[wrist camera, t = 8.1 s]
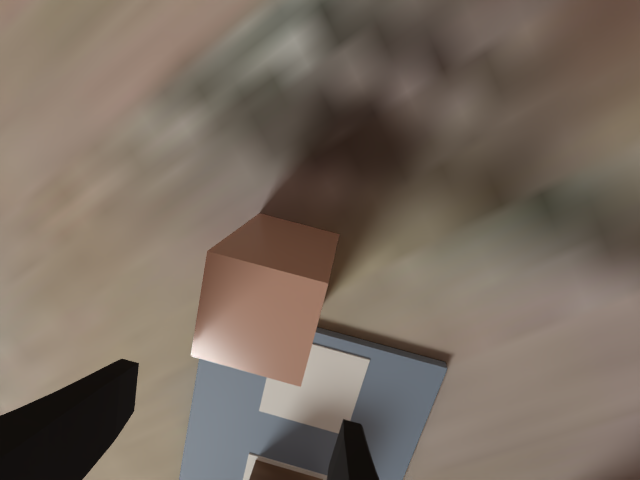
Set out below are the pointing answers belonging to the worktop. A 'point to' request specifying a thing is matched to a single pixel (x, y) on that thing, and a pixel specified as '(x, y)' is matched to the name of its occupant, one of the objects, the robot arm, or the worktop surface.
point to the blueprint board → (311, 411)
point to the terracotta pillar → (264, 297)
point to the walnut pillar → (276, 473)
